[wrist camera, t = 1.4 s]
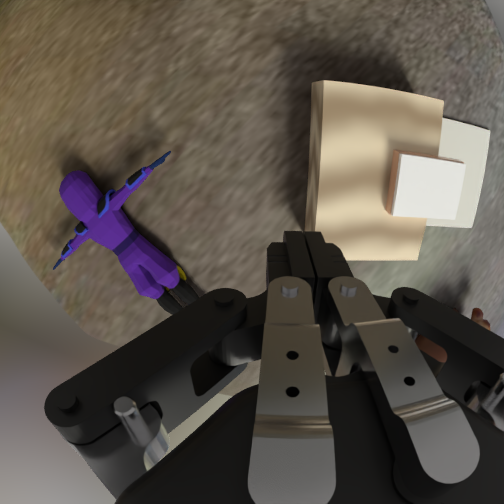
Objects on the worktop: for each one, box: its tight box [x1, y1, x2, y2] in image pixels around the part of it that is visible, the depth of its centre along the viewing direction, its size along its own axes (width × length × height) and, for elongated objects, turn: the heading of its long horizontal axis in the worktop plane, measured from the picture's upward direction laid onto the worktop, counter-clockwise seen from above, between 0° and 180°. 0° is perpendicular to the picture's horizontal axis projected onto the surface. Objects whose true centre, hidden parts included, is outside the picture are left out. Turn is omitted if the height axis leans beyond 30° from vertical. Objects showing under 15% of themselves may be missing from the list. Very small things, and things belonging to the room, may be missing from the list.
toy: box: [53, 151, 199, 314], centre depth 41 cm, size 27×6×30 cm
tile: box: [385, 149, 466, 220], centre depth 30 cm, size 7×9×2 cm
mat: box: [426, 118, 490, 228], centre depth 37 cm, size 16×12×1 cm
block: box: [304, 80, 444, 260], centre depth 34 cm, size 20×14×7 cm
